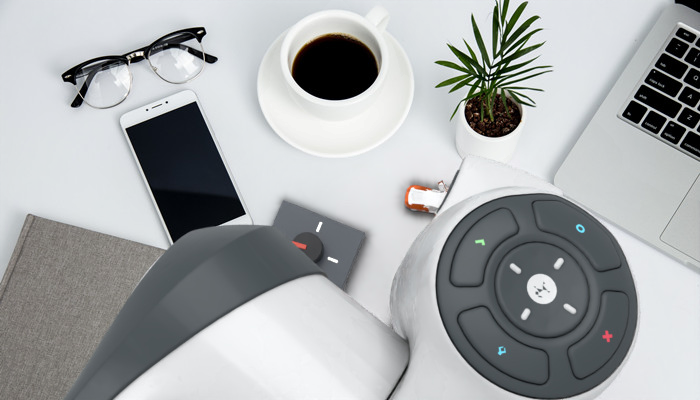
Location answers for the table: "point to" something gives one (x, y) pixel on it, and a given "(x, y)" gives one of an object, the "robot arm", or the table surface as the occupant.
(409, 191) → the toy car
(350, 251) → the control panel
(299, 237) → the dial knob
